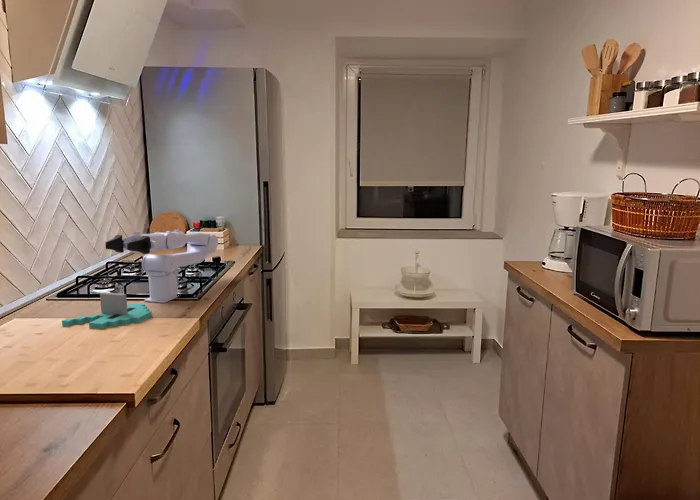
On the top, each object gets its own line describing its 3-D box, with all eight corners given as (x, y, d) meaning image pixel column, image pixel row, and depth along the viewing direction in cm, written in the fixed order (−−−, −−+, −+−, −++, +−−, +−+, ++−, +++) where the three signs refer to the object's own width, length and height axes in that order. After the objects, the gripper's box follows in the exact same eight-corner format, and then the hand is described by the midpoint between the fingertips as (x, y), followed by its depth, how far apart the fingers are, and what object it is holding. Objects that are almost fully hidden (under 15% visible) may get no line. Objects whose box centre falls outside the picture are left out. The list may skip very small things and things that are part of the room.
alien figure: (62, 328, 144) (124, 332, 140) (61, 320, 144) (123, 325, 140) (108, 308, 163) (164, 312, 159) (108, 301, 163) (163, 305, 159)
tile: (105, 311, 153) (103, 292, 152) (127, 313, 151) (126, 294, 150) (101, 312, 151) (99, 293, 150) (123, 314, 149) (122, 295, 148)
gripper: (127, 229, 164) (96, 231, 151) (166, 231, 160) (138, 233, 147) (128, 251, 165) (97, 254, 152) (166, 253, 161) (138, 257, 148)
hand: (117, 246), depth 149 cm, fingers open, 7 cm apart
